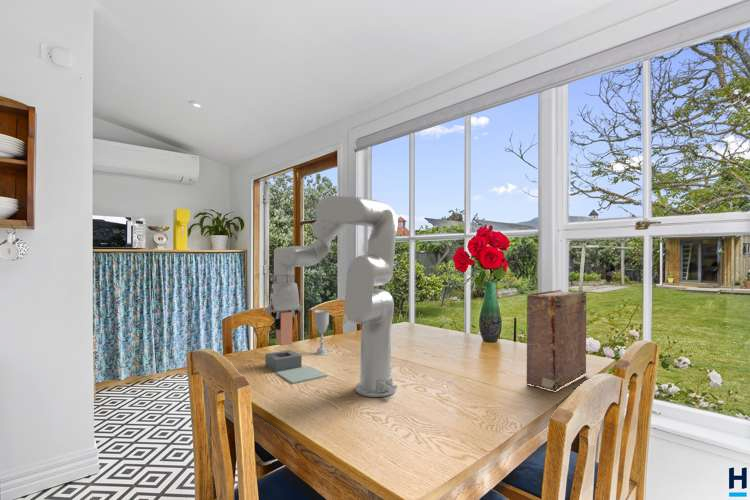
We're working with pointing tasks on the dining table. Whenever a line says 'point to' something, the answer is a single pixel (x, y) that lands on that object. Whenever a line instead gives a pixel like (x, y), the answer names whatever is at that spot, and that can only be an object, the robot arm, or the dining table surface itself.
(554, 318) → the book
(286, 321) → the plug
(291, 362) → the grey square socket block
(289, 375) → the mat
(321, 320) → the chalice
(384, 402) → the dining table surface
